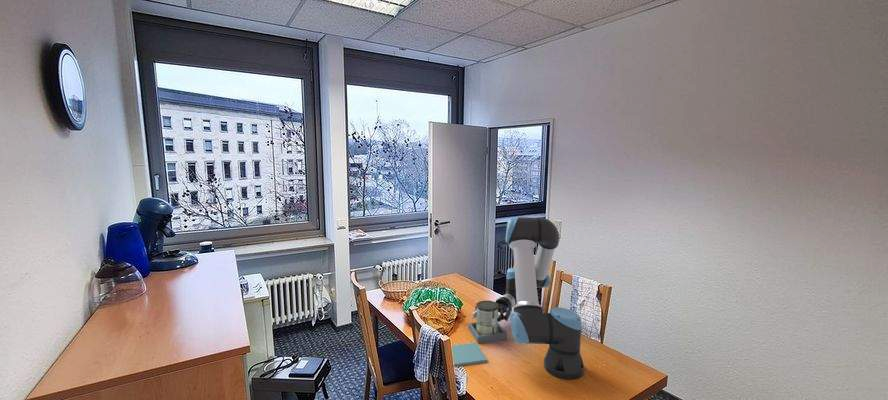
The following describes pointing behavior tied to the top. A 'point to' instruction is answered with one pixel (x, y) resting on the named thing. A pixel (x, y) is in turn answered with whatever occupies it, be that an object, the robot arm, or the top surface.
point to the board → (467, 354)
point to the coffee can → (486, 317)
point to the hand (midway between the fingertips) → (482, 319)
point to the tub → (487, 338)
